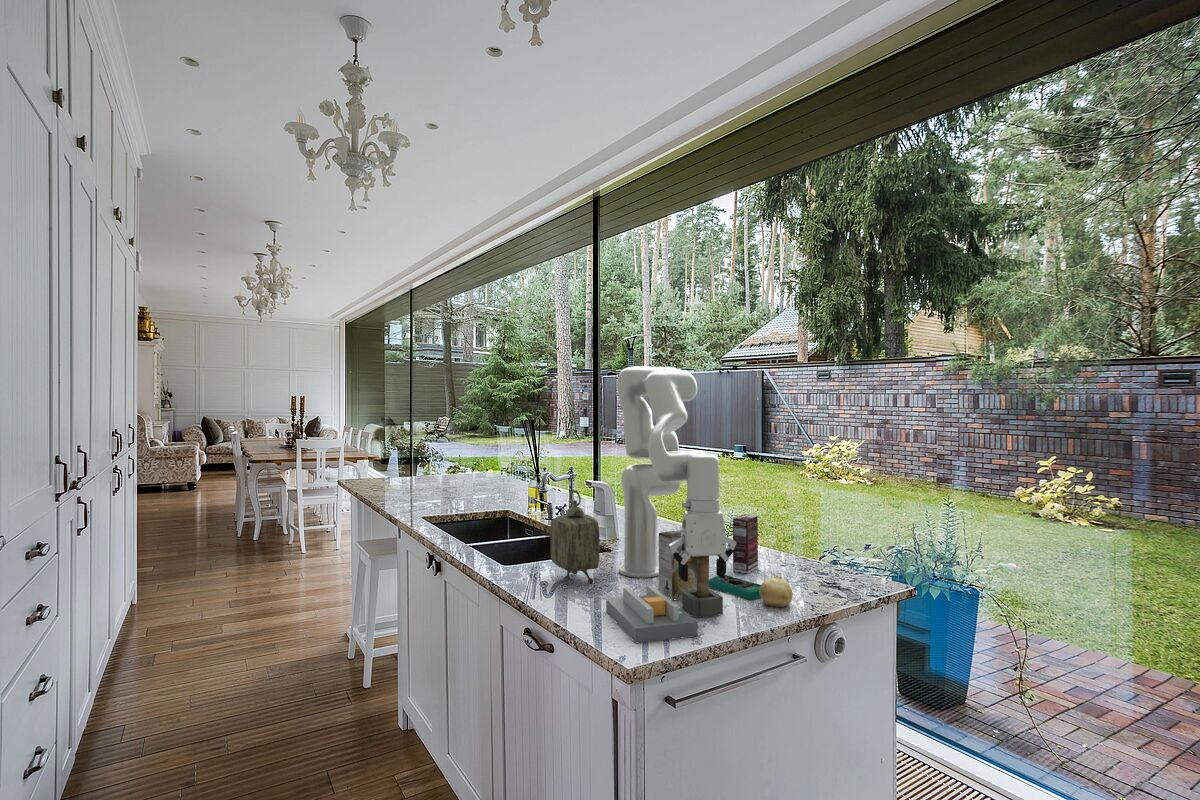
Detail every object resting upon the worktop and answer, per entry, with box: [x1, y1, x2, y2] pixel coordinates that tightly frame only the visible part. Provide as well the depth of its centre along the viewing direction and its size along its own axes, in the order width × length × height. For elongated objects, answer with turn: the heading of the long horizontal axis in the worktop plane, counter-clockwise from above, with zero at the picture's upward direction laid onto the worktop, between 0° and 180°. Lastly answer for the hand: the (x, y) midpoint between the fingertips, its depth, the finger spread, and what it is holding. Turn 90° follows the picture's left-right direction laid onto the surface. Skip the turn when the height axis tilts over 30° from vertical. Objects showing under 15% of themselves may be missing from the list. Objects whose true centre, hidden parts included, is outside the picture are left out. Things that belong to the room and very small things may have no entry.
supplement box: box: [732, 514, 759, 575], centre depth 183 cm, size 9×5×16 cm, turn 144°
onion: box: [759, 573, 794, 608], centre depth 152 cm, size 8×8×7 cm
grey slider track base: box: [605, 584, 699, 643], centre depth 138 cm, size 20×14×6 cm
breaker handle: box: [643, 597, 665, 616], centre depth 135 cm, size 3×4×3 cm
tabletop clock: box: [549, 489, 601, 585], centre depth 171 cm, size 14×9×25 cm, turn 26°
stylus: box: [697, 556, 710, 598], centre depth 146 cm, size 3×3×14 cm
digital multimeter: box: [709, 574, 761, 601], centre depth 163 cm, size 7×15×3 cm, turn 39°
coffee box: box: [658, 529, 697, 601], centre depth 159 cm, size 9×6×16 cm
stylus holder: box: [681, 589, 724, 619], centre depth 146 cm, size 8×8×4 cm
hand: (702, 578), depth 146 cm, fingers open, 9 cm apart
